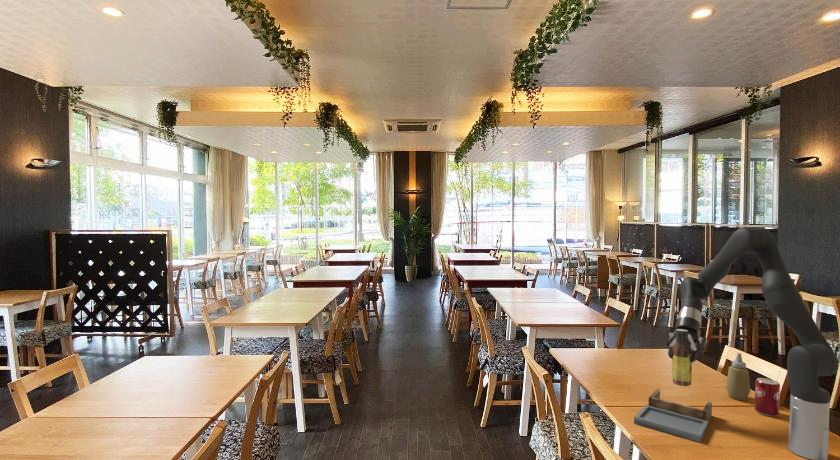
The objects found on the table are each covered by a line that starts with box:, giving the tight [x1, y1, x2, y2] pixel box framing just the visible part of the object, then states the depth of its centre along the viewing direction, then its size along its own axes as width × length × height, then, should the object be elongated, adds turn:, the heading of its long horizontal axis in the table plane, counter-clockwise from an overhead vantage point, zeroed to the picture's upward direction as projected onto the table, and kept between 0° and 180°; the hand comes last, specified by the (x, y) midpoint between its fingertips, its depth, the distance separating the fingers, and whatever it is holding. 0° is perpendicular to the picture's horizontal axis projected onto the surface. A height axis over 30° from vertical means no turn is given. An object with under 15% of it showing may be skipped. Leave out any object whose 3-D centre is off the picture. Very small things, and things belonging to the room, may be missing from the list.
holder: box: [648, 389, 713, 422], centre depth 168 cm, size 18×11×5 cm, turn 49°
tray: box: [633, 404, 709, 443], centre depth 158 cm, size 20×14×2 cm
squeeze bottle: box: [725, 352, 751, 401], centre depth 183 cm, size 8×8×18 cm
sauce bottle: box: [671, 328, 693, 387], centre depth 168 cm, size 6×6×20 cm
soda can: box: [754, 377, 781, 417], centre depth 169 cm, size 7×7×12 cm
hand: (681, 359), depth 167 cm, fingers closed on sauce bottle, 6 cm apart
